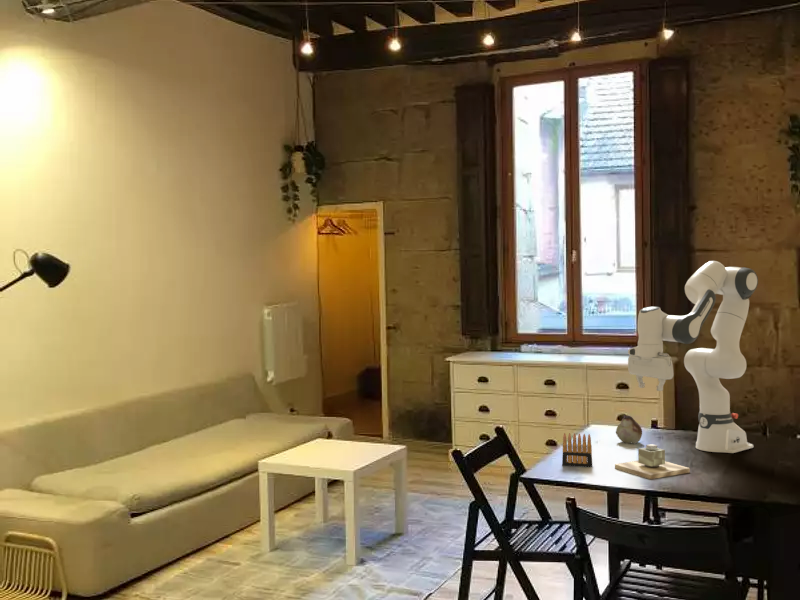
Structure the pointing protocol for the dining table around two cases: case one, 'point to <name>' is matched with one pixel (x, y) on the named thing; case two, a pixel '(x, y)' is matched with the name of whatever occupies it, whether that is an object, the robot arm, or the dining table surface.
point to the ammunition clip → (577, 452)
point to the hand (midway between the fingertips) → (650, 389)
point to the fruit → (629, 430)
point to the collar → (651, 457)
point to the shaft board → (652, 468)
